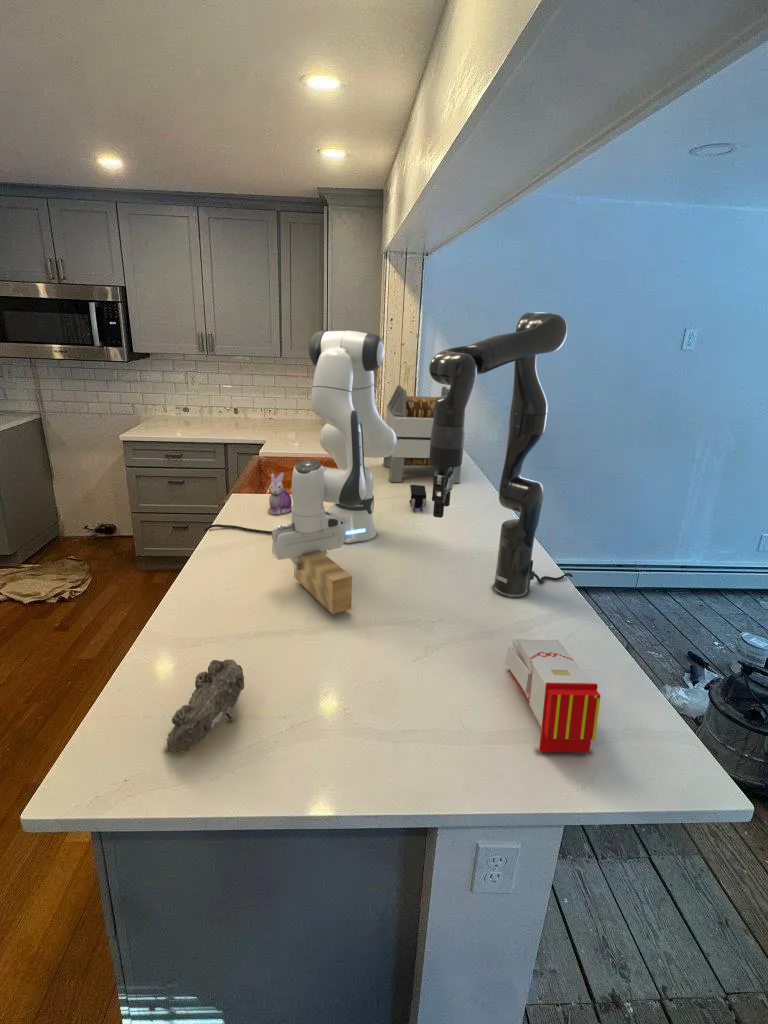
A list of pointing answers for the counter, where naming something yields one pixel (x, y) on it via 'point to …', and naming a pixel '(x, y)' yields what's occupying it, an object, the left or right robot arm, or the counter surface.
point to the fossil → (206, 705)
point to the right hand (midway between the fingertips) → (441, 511)
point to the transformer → (411, 432)
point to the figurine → (278, 496)
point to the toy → (556, 694)
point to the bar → (325, 581)
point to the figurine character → (418, 497)
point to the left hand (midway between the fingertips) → (308, 567)
